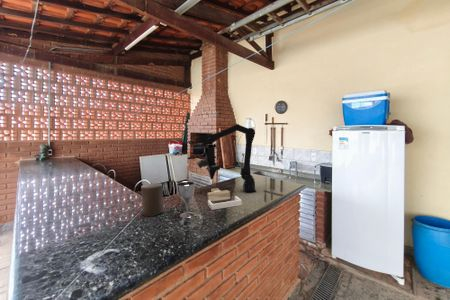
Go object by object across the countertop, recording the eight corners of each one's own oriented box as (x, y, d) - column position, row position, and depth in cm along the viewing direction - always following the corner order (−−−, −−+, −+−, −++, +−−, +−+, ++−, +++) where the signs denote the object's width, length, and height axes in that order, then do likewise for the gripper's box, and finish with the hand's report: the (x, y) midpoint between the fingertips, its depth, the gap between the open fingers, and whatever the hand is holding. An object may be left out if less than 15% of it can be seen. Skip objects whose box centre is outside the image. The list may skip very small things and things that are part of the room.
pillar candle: (157, 217, 96) (155, 185, 95) (138, 216, 98) (136, 184, 97) (167, 209, 105) (165, 180, 104) (149, 208, 107) (148, 180, 106)
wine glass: (175, 216, 95) (173, 184, 94) (186, 210, 102) (184, 180, 101) (189, 219, 91) (187, 186, 90) (199, 213, 98) (197, 182, 97)
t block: (205, 196, 124) (204, 189, 124) (224, 193, 128) (223, 187, 128) (209, 201, 114) (209, 194, 114) (230, 198, 118) (229, 191, 117)
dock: (236, 200, 114) (236, 196, 114) (241, 204, 107) (241, 200, 107) (208, 204, 109) (207, 200, 109) (211, 209, 102) (211, 204, 102)
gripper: (194, 154, 136) (196, 178, 137) (200, 157, 118) (202, 184, 120) (211, 153, 140) (212, 176, 141) (219, 155, 122) (220, 182, 123)
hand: (211, 179), depth 131 cm, fingers closed
